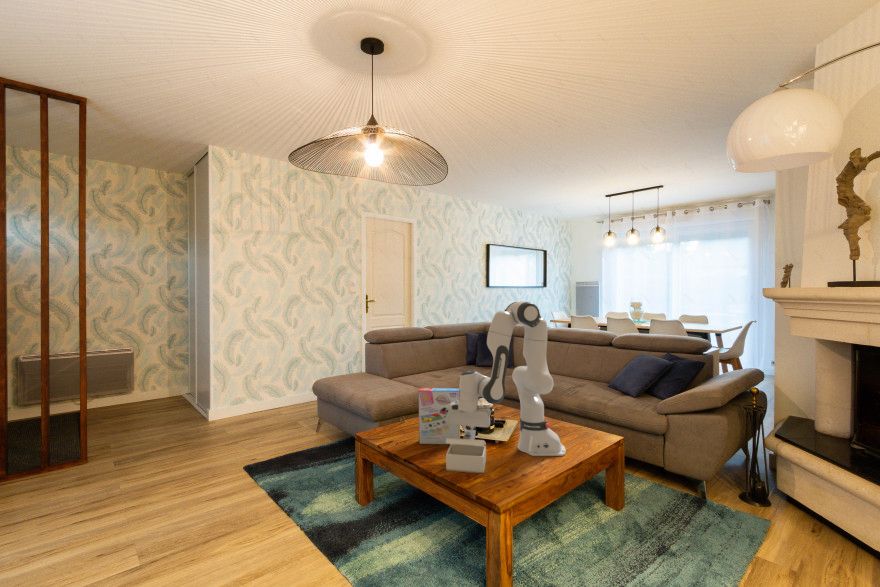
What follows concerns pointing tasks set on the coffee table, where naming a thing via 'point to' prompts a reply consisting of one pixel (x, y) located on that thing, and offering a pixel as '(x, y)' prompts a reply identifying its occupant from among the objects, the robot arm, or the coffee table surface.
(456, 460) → the mailer box
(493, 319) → the robot arm
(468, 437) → the lid
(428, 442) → the game box
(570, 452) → the coffee table surface
